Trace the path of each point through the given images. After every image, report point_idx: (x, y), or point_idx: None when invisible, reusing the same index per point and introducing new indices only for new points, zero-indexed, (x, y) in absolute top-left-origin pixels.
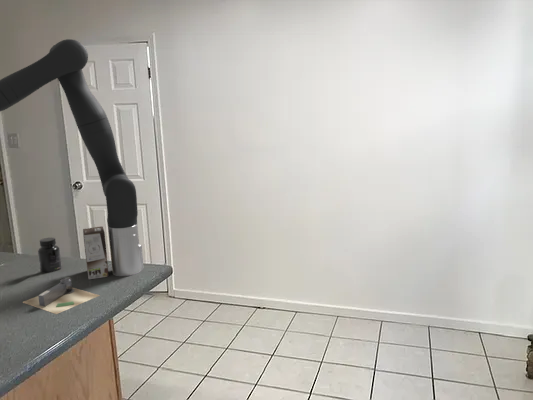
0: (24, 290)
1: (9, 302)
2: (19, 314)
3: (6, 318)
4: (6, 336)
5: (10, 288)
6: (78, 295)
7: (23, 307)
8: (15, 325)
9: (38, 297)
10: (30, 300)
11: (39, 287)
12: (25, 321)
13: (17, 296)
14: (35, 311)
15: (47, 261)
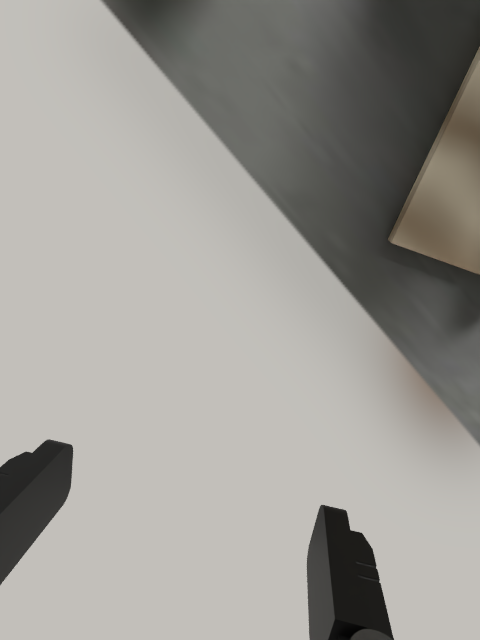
0: (273, 74)
1: (300, 208)
2: (417, 296)
3: (388, 329)
4: (474, 431)
5: (190, 68)
6: None
7: None
8: (457, 369)
9: (438, 187)
10: (419, 222)
11: (321, 18)
12: (477, 341)
13: (290, 146)
14: None
15: None
